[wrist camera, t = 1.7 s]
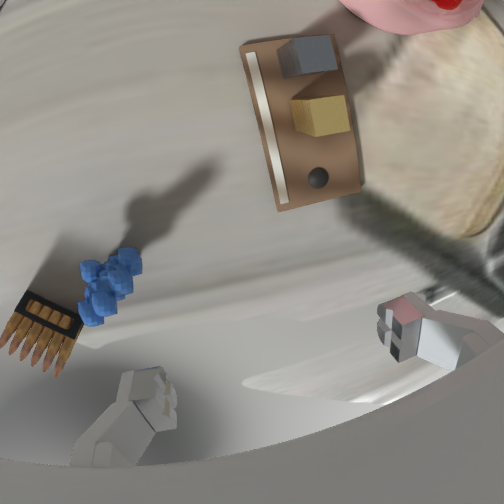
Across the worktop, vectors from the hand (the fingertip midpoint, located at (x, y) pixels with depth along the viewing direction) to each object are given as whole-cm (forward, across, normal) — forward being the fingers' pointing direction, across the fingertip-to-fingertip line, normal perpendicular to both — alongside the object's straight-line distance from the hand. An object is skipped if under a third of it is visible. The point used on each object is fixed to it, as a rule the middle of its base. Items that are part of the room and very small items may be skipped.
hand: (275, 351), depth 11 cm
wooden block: (+25, -11, -8) cm, 29 cm away
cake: (+24, -27, -27) cm, 45 cm away
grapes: (+29, +15, +4) cm, 33 cm away
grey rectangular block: (+26, -11, -14) cm, 31 cm away
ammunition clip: (+30, +29, +9) cm, 43 cm away
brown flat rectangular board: (+26, -11, -7) cm, 30 cm away
